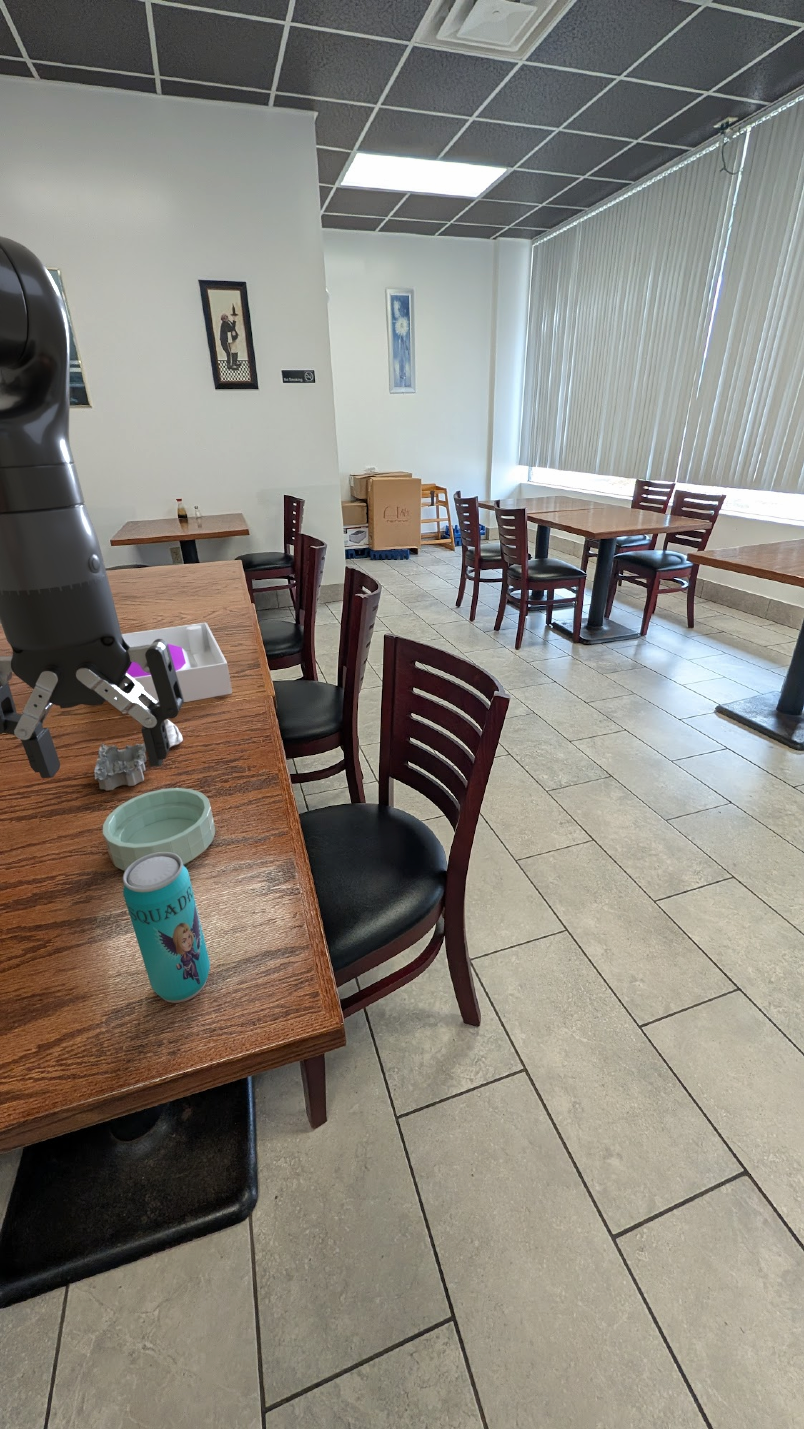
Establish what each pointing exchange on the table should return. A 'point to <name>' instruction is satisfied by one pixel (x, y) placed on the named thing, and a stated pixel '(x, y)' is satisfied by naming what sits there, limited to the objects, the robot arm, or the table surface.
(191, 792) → the bowl
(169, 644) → the white open box
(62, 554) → the robot arm
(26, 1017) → the table surface
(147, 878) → the beverage can
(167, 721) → the white hollow rounded piece
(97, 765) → the grey sculpture
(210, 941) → the table surface
